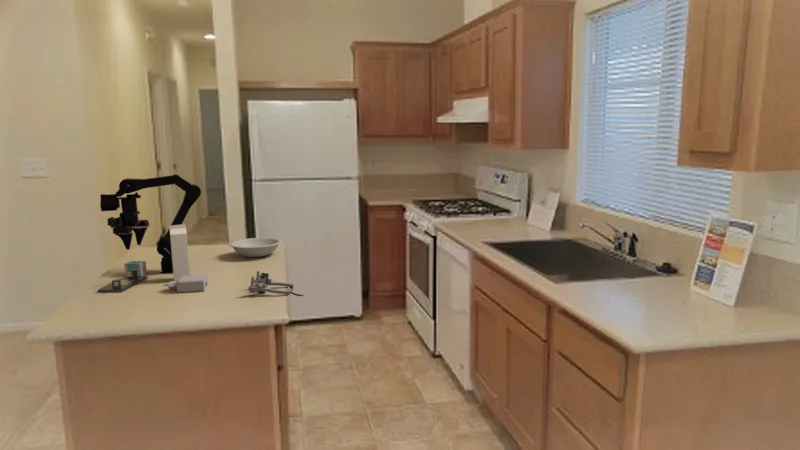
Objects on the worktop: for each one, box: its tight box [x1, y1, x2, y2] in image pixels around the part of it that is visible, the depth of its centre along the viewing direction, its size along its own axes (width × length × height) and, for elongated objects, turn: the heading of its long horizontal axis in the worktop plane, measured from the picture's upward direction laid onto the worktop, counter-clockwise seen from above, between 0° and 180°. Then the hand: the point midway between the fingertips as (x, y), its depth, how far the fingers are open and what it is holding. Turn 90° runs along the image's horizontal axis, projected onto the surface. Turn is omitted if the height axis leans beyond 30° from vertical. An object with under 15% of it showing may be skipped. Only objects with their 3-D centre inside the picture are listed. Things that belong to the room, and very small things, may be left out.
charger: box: [163, 274, 209, 294], centre depth 214 cm, size 5×9×15 cm
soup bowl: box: [228, 237, 283, 258], centre depth 270 cm, size 24×24×7 cm
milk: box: [168, 224, 191, 281], centre depth 228 cm, size 6×6×22 cm
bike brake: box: [248, 270, 304, 297], centre depth 209 cm, size 14×7×20 cm
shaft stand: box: [97, 269, 149, 293], centre depth 223 cm, size 9×20×4 cm, turn 178°
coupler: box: [123, 260, 148, 277], centre depth 238 cm, size 7×4×5 cm, turn 88°
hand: (133, 247), depth 236 cm, fingers open, 9 cm apart
